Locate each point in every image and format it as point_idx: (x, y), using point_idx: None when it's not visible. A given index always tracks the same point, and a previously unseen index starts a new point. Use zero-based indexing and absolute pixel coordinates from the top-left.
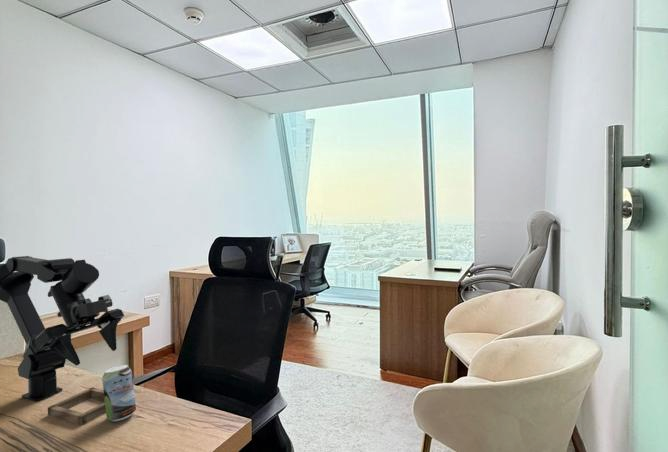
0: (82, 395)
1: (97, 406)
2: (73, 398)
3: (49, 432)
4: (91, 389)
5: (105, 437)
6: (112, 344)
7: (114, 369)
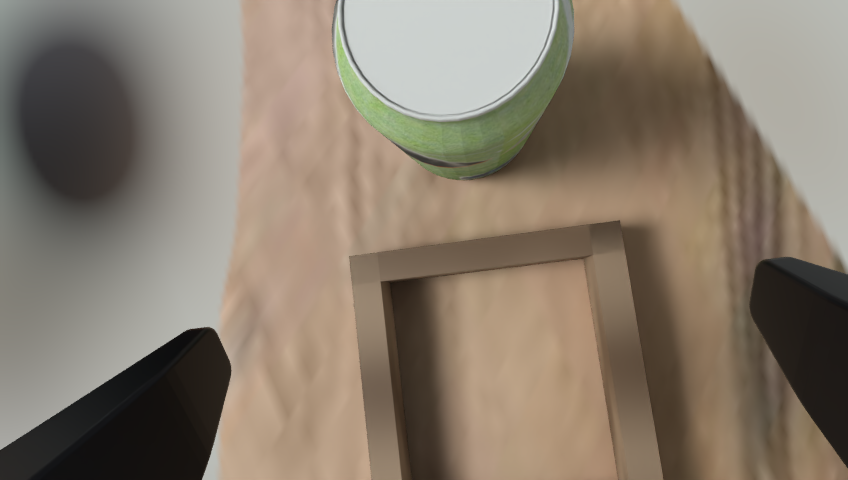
0: None
1: (509, 259)
2: None
3: (730, 312)
4: None
5: (603, 19)
6: (171, 398)
7: (467, 6)
